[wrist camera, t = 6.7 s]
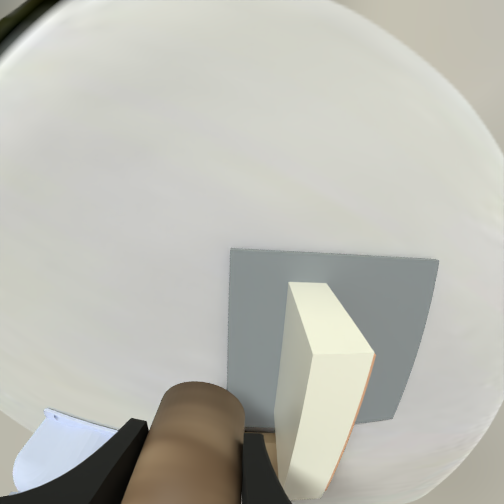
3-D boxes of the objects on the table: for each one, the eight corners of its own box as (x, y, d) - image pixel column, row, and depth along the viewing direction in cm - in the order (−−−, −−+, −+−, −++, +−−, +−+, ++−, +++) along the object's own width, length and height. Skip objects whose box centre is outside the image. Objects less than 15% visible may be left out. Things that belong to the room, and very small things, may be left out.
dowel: (169, 436, 11) (132, 559, 5) (154, 378, 11) (88, 520, 4) (246, 440, 11) (241, 575, 5) (243, 382, 11) (232, 549, 4)
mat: (227, 421, 18) (226, 425, 17) (230, 248, 15) (230, 249, 15) (390, 415, 18) (392, 418, 17) (435, 259, 15) (439, 260, 15)
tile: (273, 412, 17) (280, 500, 10) (288, 281, 15) (312, 354, 8) (308, 412, 17) (325, 497, 10) (331, 283, 15) (381, 352, 8)
